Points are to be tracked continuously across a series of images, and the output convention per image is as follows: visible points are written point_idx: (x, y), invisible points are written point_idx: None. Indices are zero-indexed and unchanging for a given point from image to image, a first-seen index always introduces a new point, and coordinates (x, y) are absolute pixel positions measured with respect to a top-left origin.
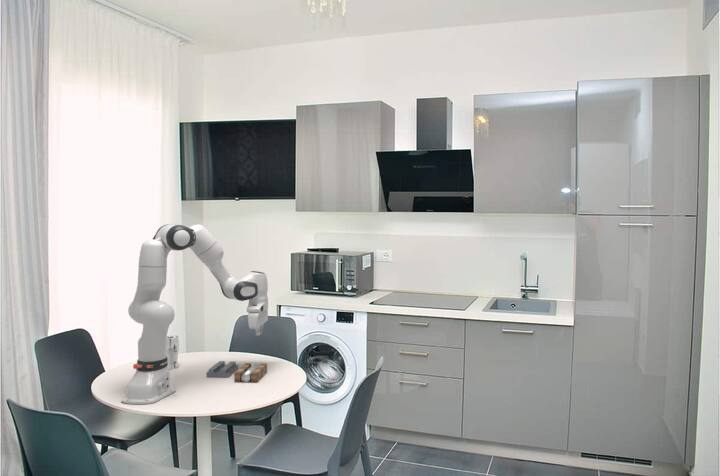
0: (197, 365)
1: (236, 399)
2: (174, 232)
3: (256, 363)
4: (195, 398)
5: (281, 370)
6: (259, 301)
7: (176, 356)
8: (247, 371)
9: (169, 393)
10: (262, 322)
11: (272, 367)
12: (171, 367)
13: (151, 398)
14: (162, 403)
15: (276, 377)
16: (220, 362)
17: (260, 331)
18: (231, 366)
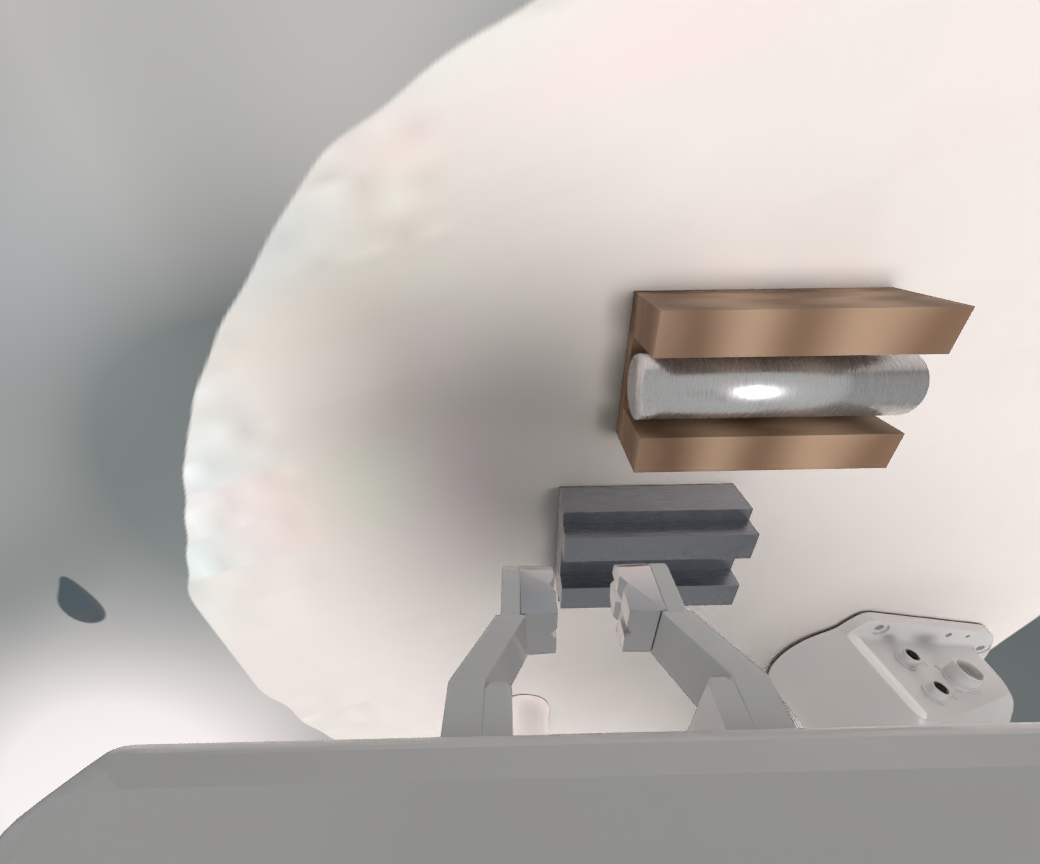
0: None
1: None
2: None
3: (649, 397)
4: (997, 523)
5: (528, 193)
6: None
7: None
8: (870, 397)
9: (905, 620)
10: (662, 809)
11: (454, 300)
12: (547, 710)
13: (968, 645)
14: (999, 601)
15: (729, 181)
16: (587, 598)
17: (554, 608)
18: (647, 530)
